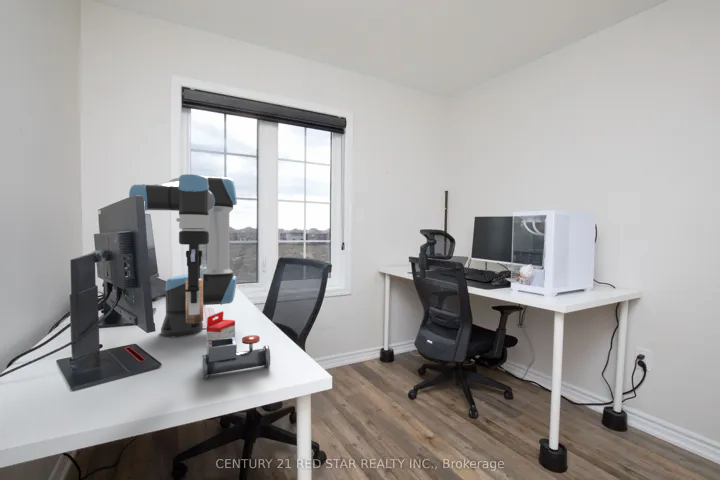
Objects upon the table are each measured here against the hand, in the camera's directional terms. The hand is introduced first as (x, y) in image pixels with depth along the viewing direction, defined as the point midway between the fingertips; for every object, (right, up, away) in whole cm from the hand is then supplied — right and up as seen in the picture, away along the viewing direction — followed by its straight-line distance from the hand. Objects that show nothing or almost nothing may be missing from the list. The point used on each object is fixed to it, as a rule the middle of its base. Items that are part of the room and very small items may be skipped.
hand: (194, 312), depth 91 cm
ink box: (+2, -19, +14) cm, 23 cm away
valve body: (+10, -19, +4) cm, 22 cm away
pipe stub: (0, -3, 0) cm, 3 cm away
